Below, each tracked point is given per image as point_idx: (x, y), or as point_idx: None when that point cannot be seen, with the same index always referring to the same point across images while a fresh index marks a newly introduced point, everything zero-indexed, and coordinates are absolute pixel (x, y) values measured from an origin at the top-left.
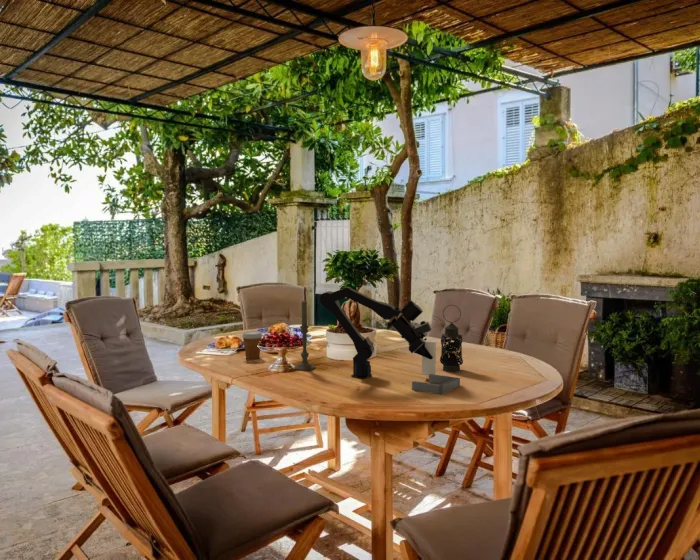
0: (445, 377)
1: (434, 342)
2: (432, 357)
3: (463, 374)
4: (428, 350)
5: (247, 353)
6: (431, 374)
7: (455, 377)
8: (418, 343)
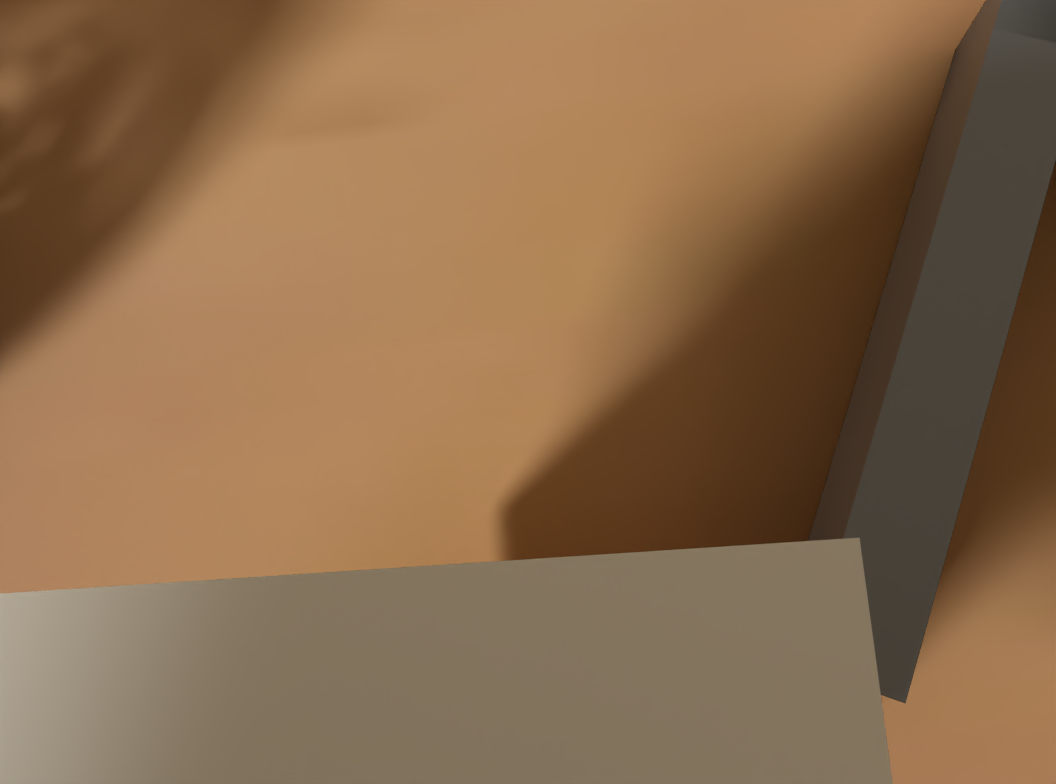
0: (1023, 263)
1: (526, 665)
2: None
3: (68, 111)
4: None
5: None
6: None
7: (990, 45)
8: None
